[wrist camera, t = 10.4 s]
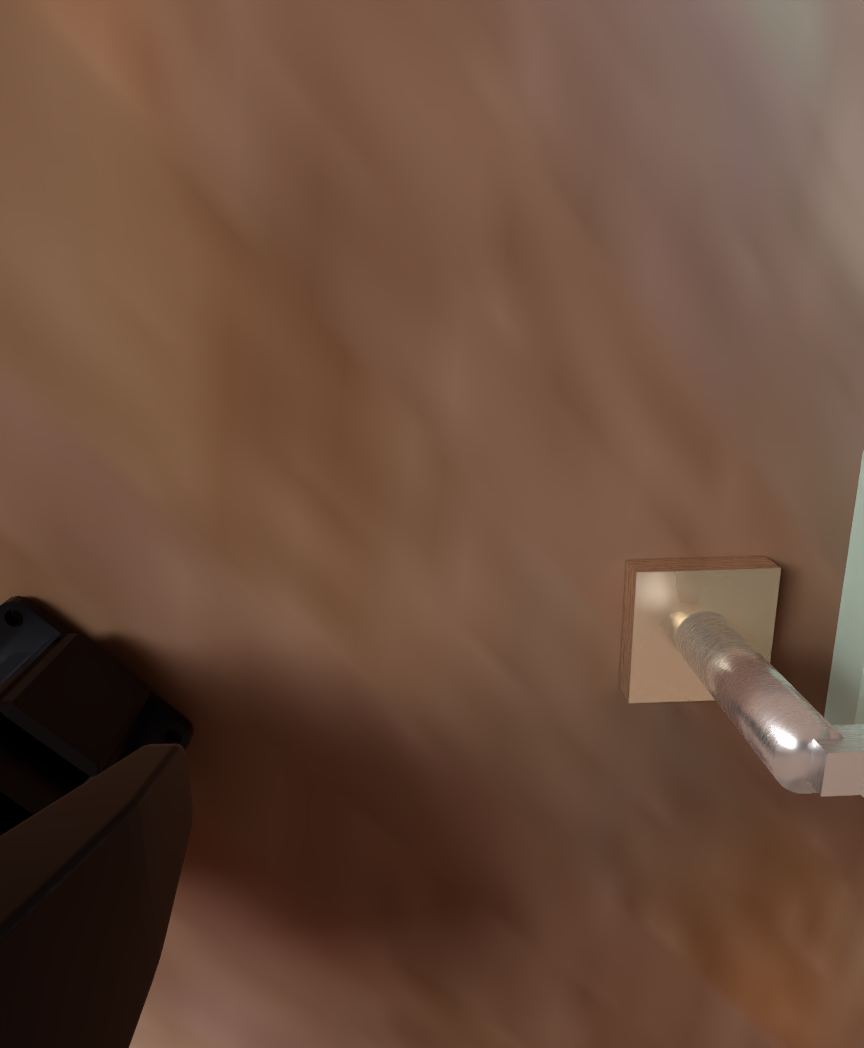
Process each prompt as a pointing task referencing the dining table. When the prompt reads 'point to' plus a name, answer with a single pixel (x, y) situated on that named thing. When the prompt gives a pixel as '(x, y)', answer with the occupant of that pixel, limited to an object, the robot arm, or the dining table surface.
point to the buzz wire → (731, 665)
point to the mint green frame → (850, 631)
